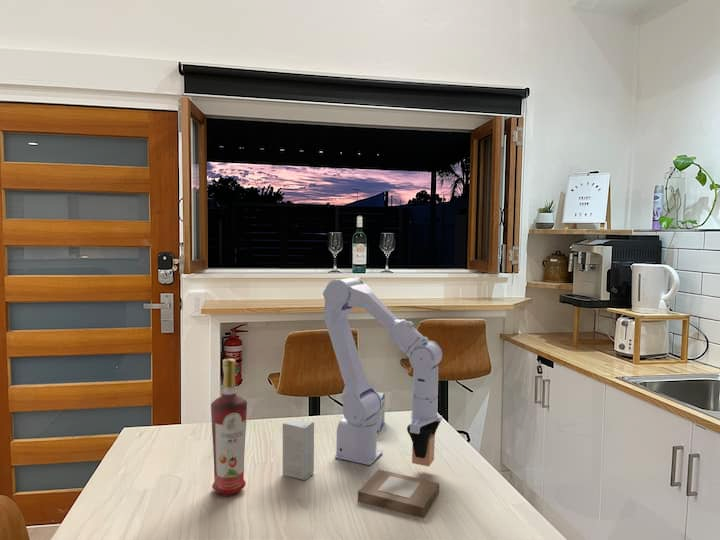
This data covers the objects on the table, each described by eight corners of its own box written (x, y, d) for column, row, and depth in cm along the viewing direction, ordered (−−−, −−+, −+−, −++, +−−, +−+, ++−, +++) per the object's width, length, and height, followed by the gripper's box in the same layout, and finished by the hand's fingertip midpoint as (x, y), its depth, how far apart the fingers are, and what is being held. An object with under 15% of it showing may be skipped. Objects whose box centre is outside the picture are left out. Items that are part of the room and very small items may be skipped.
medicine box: (380, 431, 144) (380, 401, 143) (364, 430, 145) (364, 399, 144) (384, 421, 151) (385, 392, 151) (369, 420, 152) (370, 391, 152)
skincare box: (314, 473, 119) (315, 421, 118) (304, 481, 115) (305, 428, 114) (291, 467, 121) (292, 417, 120) (281, 475, 117) (281, 423, 116)
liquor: (215, 502, 105) (215, 366, 103) (207, 486, 111) (207, 357, 109) (250, 494, 108) (251, 362, 106) (241, 479, 115) (242, 354, 113)
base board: (357, 500, 107) (357, 490, 107) (378, 477, 117) (378, 468, 117) (423, 517, 101) (423, 507, 101) (438, 492, 111) (439, 482, 111)
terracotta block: (412, 463, 119) (412, 437, 119) (417, 456, 123) (418, 431, 122) (428, 466, 117) (429, 440, 117) (434, 459, 121) (434, 434, 121)
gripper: (432, 407, 111) (430, 469, 112) (450, 389, 124) (448, 444, 125) (401, 402, 114) (399, 462, 115) (422, 385, 127) (420, 439, 128)
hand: (423, 453), depth 120 cm, fingers closed on terracotta block, 4 cm apart
